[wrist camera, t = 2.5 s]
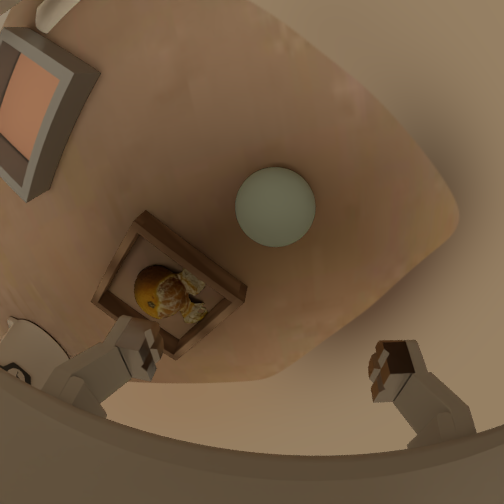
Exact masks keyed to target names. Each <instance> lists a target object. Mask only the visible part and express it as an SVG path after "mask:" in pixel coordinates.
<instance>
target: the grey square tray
mask: <svg viewBox="0 0 504 504" xmlns="http://www.w3.org/2000/svg"><path fill="white" fill-rule="evenodd" d="M100 74H101V73H100V72H99V71H97V70H95V69H94V68H92V67H91V66H89V65H88V64H86V63H85V62H83V61H82V60H80V59H79V58H77V57H75V56H74V55H72V54H71V53H69V52H68V51H66V50H64V49H63V48H61V47H59V46H58V45H56V44H55V43H53V42H51V41H50V40H48V39H46V38H45V37H43V36H41V35H40V34H38V33H36V32H34V31H33V30H31V29H29V28H20V27H3V29H2V31H1V34H0V177H1V178H2V179H3V180H4V181H5V182H6V183H7V184H8V185H9V186H10V187H11V188H12V189H13V190H14V191H15V192H16V193H17V194H18V195H19V196H20V197H21V198H22V199H23V200H24V201H25V202H26V203H27V202H29V201H30V200H32V199H34V198H35V197H37V196H39V195H40V194H42V193H44V192H46V191H47V190H49V188H50V185H51V182H52V179H53V176H54V174H55V171H56V168H57V165H58V163H59V160H60V157H61V155H62V152H63V150H64V147H65V145H66V142H67V140H68V138H69V135H70V133H71V131H72V128H73V126H74V124H75V122H76V120H77V118H78V115H79V113H80V111H81V109H82V107H83V105H84V103H85V101H86V99H87V97H88V95H89V94H90V92H91V90H92V88H93V86H94V84H95V83H96V81H97V79H98V77H99V75H100Z"/></svg>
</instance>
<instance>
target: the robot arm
mask: <svg viewBox="0 0 504 504" xmlns="http://www.w3.org/2000/svg"><path fill="white" fill-rule="evenodd" d="M7 322H8V326H9V330H8V331H7V332H6V334H5V335H4V337H3V338H2V340H1V341H0V504H504V425H501V426H498V427H495V428H492V429H489V430H486V431H483V432H480V433H476V429H475V426H474V422H473V419H472V415H471V412H470V409H469V406H468V405H466V404H465V403H464V402H463V401H462V400H461V399H460V398H459V397H458V396H457V395H455V394H454V393H453V392H452V391H451V390H450V389H449V388H448V387H447V386H446V385H445V384H444V383H442V382H441V381H440V380H439V379H438V378H437V377H436V376H435V375H434V374H432V373H431V372H428V371H427V368H426V365H425V362H424V359H423V356H422V354H421V351H420V348H419V345H418V343H417V341H416V340H382V341H379V342H378V343H377V345H376V347H375V348H376V353H374V354H373V355H372V356H371V359H370V361H369V367H368V373H369V379H370V380H371V381H372V382H373V385H372V387H371V392H372V399H373V402H393V403H394V405H395V406H396V407H397V408H398V410H399V411H400V413H401V414H402V415H403V416H404V418H405V419H406V420H407V422H408V423H409V424H410V426H411V427H412V428H413V429H414V431H415V432H416V433H417V436H416V437H415V438H414V439H413V440H412V441H411V442H409V444H408V445H407V447H408V449H404V450H397V451H389V452H380V453H370V454H357V455H336V456H300V455H278V454H264V453H255V452H245V451H237V450H230V449H223V448H217V447H211V446H205V445H200V444H195V443H190V442H186V441H181V440H176V439H172V438H168V437H164V436H160V435H156V434H153V433H149V432H146V431H142V430H139V429H136V428H132V427H129V426H126V425H123V424H120V423H117V422H114V421H111V420H108V419H106V417H107V414H106V412H105V410H104V409H103V408H102V406H101V405H100V403H101V402H103V401H104V400H105V399H106V398H108V397H109V396H110V395H111V394H113V393H114V392H115V391H116V390H117V389H119V388H120V387H121V386H123V385H124V384H125V383H127V382H128V381H129V380H130V379H131V377H132V378H137V379H141V380H146V381H151V380H152V378H153V376H154V373H155V371H156V369H157V368H156V366H155V363H156V362H158V361H159V360H160V359H161V357H162V354H163V349H164V341H163V337H162V336H161V335H160V334H159V330H160V326H159V323H158V322H156V321H150V320H146V319H141V318H136V317H130V316H126V315H122V316H120V317H119V318H118V320H117V322H116V323H115V325H114V326H113V328H112V329H111V331H110V332H109V334H108V336H107V337H106V339H105V340H104V342H103V343H98V344H96V345H94V346H93V347H91V348H89V349H87V350H85V351H84V352H82V353H80V354H78V355H77V356H75V357H73V358H71V359H69V358H68V356H67V355H66V353H65V352H64V351H63V349H62V348H61V347H60V346H59V345H58V344H57V343H56V342H55V341H54V340H53V339H52V338H51V337H50V336H49V335H48V334H47V333H46V332H44V331H43V330H42V329H41V328H39V327H38V326H36V325H35V324H33V323H31V322H29V321H26V320H17V319H15V318H13V317H9V319H8V320H7Z"/></svg>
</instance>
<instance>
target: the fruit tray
mask: <svg viewBox="0 0 504 504" xmlns="http://www.w3.org/2000/svg"><path fill="white" fill-rule="evenodd" d="M139 235H141V236H142V237H143V238H145V239H146V240H147V241H149V242H150V243H151V244H153V245H154V246H155V247H157V248H158V249H159V250H160V251H162V252H163V253H164V254H166V255H167V256H168V257H170V258H171V259H172V260H174V261H175V262H176V263H178V264H179V265H181V266H182V267H183V268H185V269H186V270H187V271H189V272H190V273H191V274H193V275H194V276H196V277H197V278H198V279H200V280H201V281H202V282H204V283H205V284H207V285H208V286H209V287H211V288H212V289H214V290H215V291H216V292H218V293H219V294H221V295H222V296H224V297H225V298H224V299H223V300H222V301H221V302H220V303H219V304H218V305H217V306H215V307H214V308H213V309H212V310H211V311H210V312H209V313H208V314H207V315H206V316H205V317H204V318H203V319H202V320H200V321H199V322H198V323H197V324H196V325H195V326H194V327H193V328H192V329H191V330H190V331H189V332H187V333H186V334H185V335H184V336H183V337H182V338H181V339H180V340H178V339H176V338H175V337H173V336H172V335H170V334H169V333H167V332H166V331H164V330H163V329H161V328H160V330H159V334H160V335H161V336H162V337H163V341H164V349H163V353H164V354H166V355H168V356H169V357H171V358H172V359H174V360H177V359H178V358H180V357H181V356H182V355H183V354H184V353H186V352H187V351H188V350H189V349H190V348H192V347H193V346H194V345H195V344H196V343H198V342H199V341H200V340H201V339H202V338H204V337H205V336H206V335H207V334H208V333H209V332H211V331H212V330H213V329H214V328H215V327H217V326H218V325H219V324H220V323H221V322H222V321H224V320H225V319H226V318H227V317H228V316H229V315H231V314H232V313H233V312H234V311H235V310H236V309H237V308H239V307H240V306H241V305H242V304H243V303H244V301H245V296H246V291H247V286H245V285H244V284H243V283H241V282H240V281H239V280H237V279H236V278H235V277H233V276H232V275H230V274H229V273H228V272H226V271H225V270H224V269H222V268H221V267H220V266H218V265H217V264H216V263H214V262H213V261H212V260H210V259H209V258H207V257H206V256H205V255H203V254H202V253H201V252H199V251H198V250H197V249H195V248H194V247H193V246H191V245H190V244H189V243H188V242H186V241H185V240H184V239H182V238H181V237H180V236H178V235H177V234H176V233H174V232H173V231H172V230H170V229H169V228H168V227H167V226H165V225H164V224H163V223H161V222H160V221H159V220H157V219H156V218H155V217H154V216H152V215H151V214H150V213H148V212H147V211H146V210H145V211H144V212H143V213H142V214H141V215H140V216H139V217H138V218H137V219H135V220H134V222H133V223H132V225H131V227H130V228H129V230H128V232H127V234H126V235H125V237H124V239H123V241H122V242H121V244H120V246H119V248H118V250H117V251H116V253H115V255H114V257H113V259H112V261H111V262H110V264H109V266H108V268H107V270H106V272H105V274H104V276H103V278H102V280H101V282H100V284H99V286H98V288H97V290H96V292H95V294H94V296H93V298H92V300H91V302H92V303H93V304H94V305H96V306H97V307H98V308H99V309H101V310H102V311H103V312H105V313H106V314H107V315H109V316H110V317H111V318H113V319H114V320H116V321H117V320H118V318H119V317H120V316H122V315H126V316H130V317H136V318H141V319H146V320H148V319H147V318H145V317H144V316H142V315H141V314H139V313H138V312H137V311H135V310H134V309H132V308H131V307H130V306H128V305H127V304H126V303H124V302H123V301H122V300H120V299H119V298H117V297H116V296H115V295H114V294H112V293H111V292H110V291H108V290H107V289H108V287H109V286H110V284H111V282H112V280H113V278H114V277H115V275H116V273H117V271H118V270H119V268H120V266H121V264H122V263H123V261H124V259H125V258H126V256H127V254H128V252H129V251H130V249H131V248H132V246H133V244H134V243H135V241H136V239H137V238H138V236H139Z"/></svg>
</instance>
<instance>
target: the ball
mask: <svg viewBox="0 0 504 504" xmlns="http://www.w3.org/2000/svg"><path fill="white" fill-rule="evenodd" d="M315 208H316V207H315V199H314V195H313V192H312V190H311V188H310V186H309V185H308V183H307V182H306V181H305V180H304V179H303V178H302V177H301V176H300V175H298V174H297V173H295V172H294V171H291V170H289V169H286V168H281V167H269V168H264V169H261V170H259V171H257V172H255V173H253V174H252V175H250V176H249V177H248V178H247V179H246V180H245V181H244V183H243V184H242V185H241V187H240V189H239V191H238V193H237V197H236V201H235V212H236V217H237V220H238V223H239V225H240V227H241V228H242V230H243V231H244V233H245V234H246V235H247V236H248V237H250V238H251V239H252V240H254V241H255V242H257V243H259V244H262V245H265V246H269V247H282V246H286V245H289V244H292V243H294V242H296V241H297V240H299V239H300V238H302V237H303V236H304V235H305V234H306V232H307V231H308V230H309V228H310V227H311V225H312V222H313V220H314V216H315Z"/></svg>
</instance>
